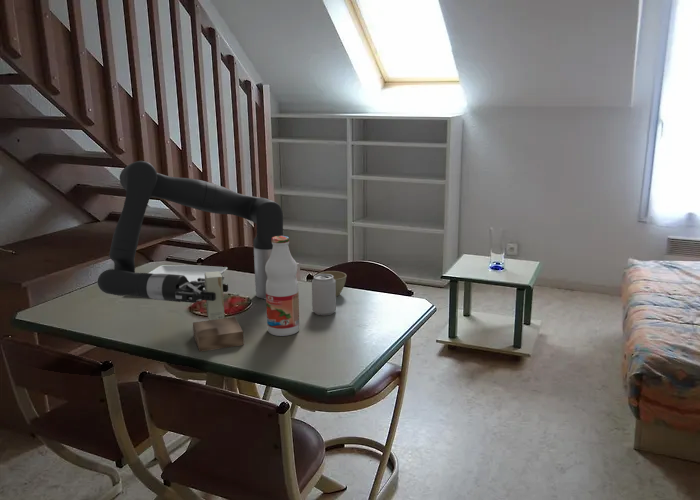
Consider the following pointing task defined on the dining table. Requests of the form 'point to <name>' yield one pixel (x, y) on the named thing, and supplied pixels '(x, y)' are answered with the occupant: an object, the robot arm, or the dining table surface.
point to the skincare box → (216, 285)
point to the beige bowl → (337, 280)
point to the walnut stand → (218, 334)
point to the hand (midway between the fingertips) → (221, 292)
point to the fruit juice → (282, 290)
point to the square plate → (187, 271)
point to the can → (323, 294)
